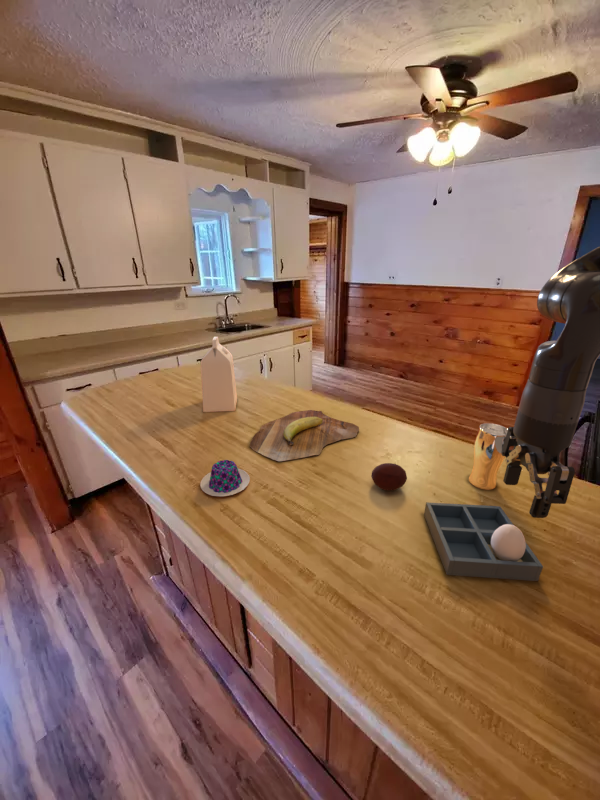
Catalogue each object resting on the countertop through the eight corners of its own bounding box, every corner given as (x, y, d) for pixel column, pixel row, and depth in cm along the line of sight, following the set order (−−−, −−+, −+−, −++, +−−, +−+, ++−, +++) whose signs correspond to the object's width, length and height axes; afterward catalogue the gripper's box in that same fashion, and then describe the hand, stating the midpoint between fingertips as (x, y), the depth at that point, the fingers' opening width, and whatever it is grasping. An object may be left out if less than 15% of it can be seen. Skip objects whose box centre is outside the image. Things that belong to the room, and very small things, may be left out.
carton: (496, 519, 72) (500, 506, 71) (538, 581, 58) (543, 566, 57) (423, 514, 73) (426, 502, 72) (446, 574, 59) (450, 560, 58)
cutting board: (308, 407, 129) (308, 397, 127) (368, 430, 111) (369, 419, 109) (232, 438, 105) (231, 427, 104) (293, 473, 88) (293, 460, 86)
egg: (527, 566, 60) (538, 534, 57) (503, 573, 59) (514, 541, 56) (503, 544, 65) (512, 514, 62) (480, 550, 63) (489, 519, 61)
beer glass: (503, 484, 84) (517, 431, 78) (488, 494, 80) (502, 439, 74) (476, 471, 89) (488, 420, 83) (461, 480, 85) (472, 427, 80)
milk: (208, 399, 135) (201, 335, 125) (237, 398, 136) (232, 334, 126) (203, 411, 124) (195, 342, 114) (235, 410, 125) (230, 341, 115)
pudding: (190, 491, 80) (187, 473, 78) (219, 466, 91) (217, 449, 89) (233, 504, 76) (231, 485, 74) (258, 475, 87) (257, 458, 85)
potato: (403, 500, 78) (407, 478, 76) (368, 492, 81) (370, 471, 78) (406, 482, 84) (409, 461, 82) (373, 475, 87) (375, 455, 85)
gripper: (611, 434, 44) (574, 530, 50) (545, 395, 57) (523, 475, 63) (550, 432, 44) (521, 528, 51) (500, 394, 58) (481, 473, 64)
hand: (522, 498), depth 57 cm, fingers open, 8 cm apart
